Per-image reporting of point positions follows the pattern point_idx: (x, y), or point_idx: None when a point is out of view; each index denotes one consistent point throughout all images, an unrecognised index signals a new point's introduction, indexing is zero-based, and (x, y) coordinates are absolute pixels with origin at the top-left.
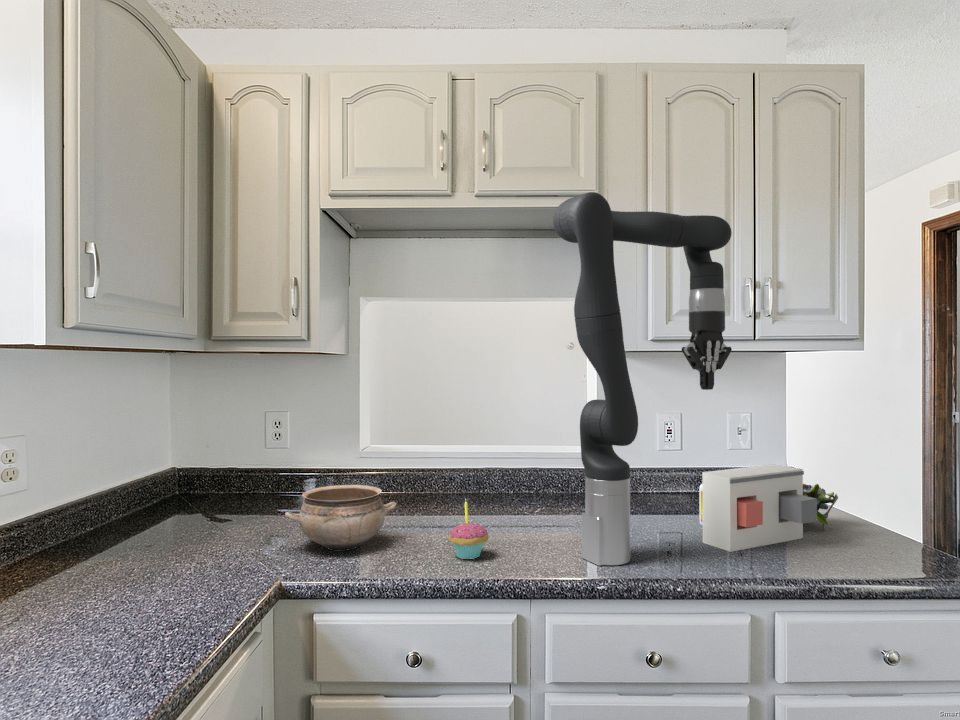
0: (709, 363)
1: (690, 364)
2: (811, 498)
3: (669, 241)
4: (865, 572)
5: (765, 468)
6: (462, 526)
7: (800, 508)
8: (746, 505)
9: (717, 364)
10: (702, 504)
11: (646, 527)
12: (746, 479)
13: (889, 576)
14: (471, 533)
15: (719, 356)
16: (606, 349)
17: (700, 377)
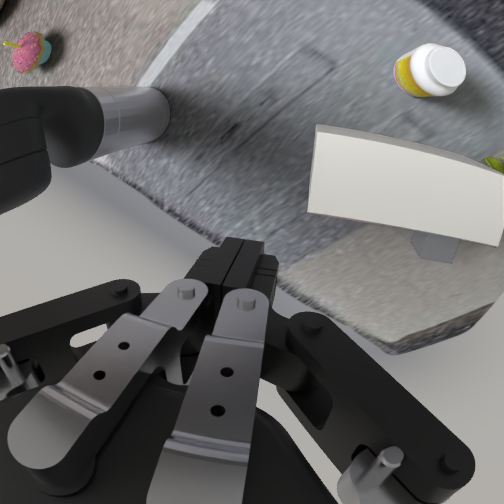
0: (188, 384)
1: (80, 295)
2: (447, 258)
3: None
4: (362, 310)
5: (464, 196)
6: (15, 56)
7: (417, 250)
8: (327, 216)
9: (281, 390)
10: (403, 63)
11: (308, 16)
12: (351, 219)
13: (367, 327)
14: (19, 70)
15: (337, 433)
16: None
17: (189, 276)
